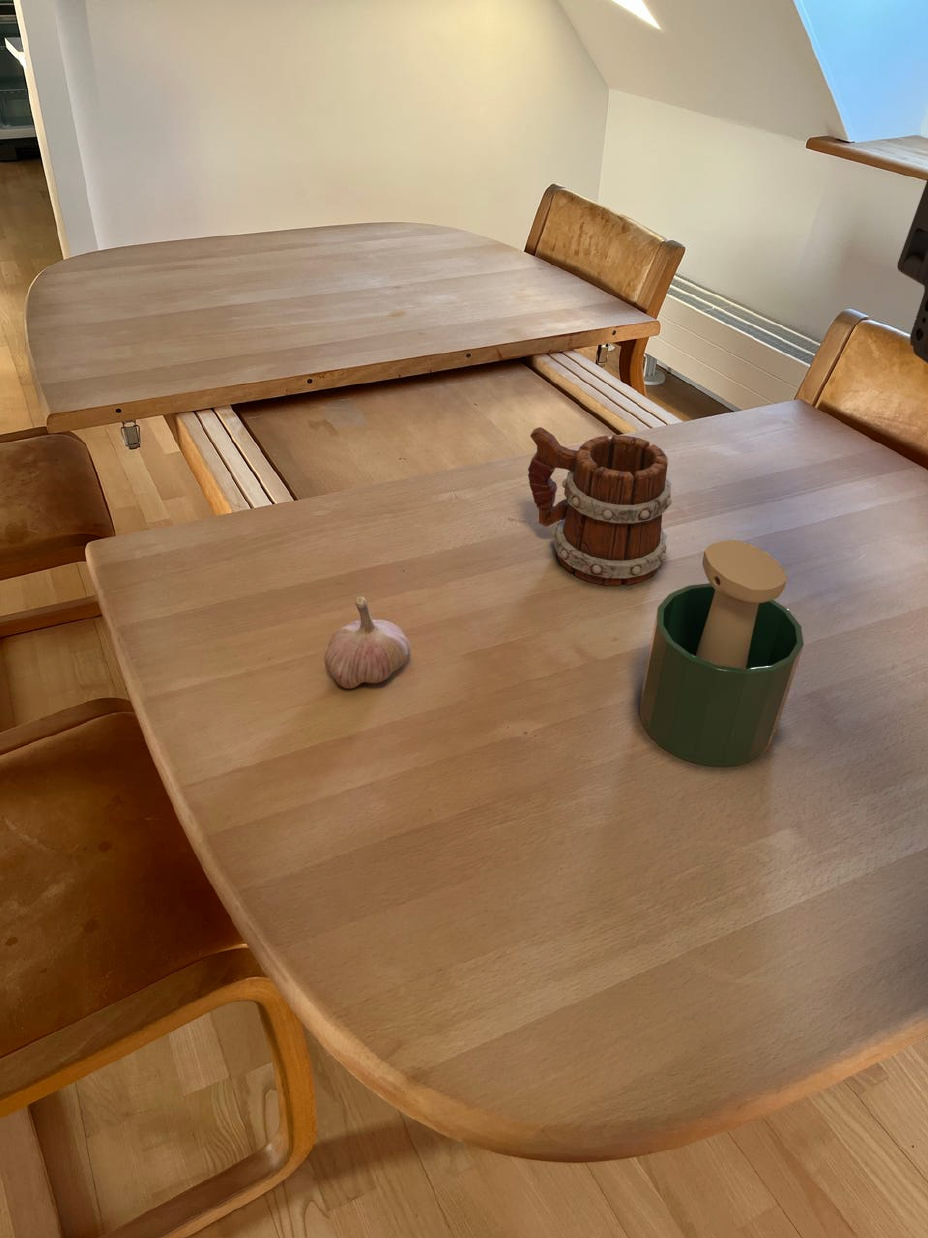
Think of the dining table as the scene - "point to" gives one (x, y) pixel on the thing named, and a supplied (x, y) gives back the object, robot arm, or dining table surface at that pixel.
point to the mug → (604, 505)
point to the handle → (736, 599)
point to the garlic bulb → (366, 650)
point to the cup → (716, 682)
